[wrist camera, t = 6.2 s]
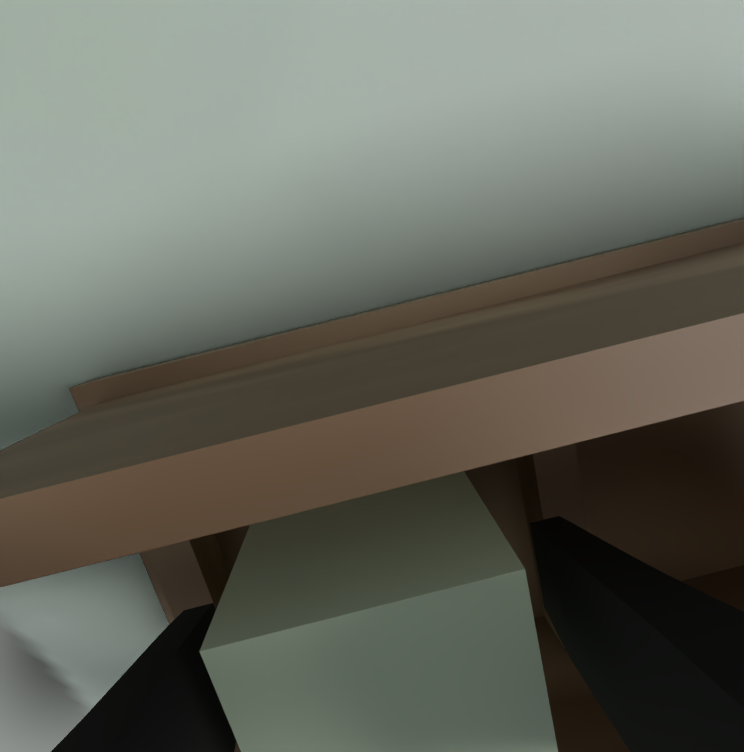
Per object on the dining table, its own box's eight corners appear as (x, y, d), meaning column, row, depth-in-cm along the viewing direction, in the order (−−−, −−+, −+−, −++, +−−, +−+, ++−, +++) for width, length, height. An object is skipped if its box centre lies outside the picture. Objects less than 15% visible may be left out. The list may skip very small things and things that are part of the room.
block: (473, 583, 11) (568, 806, 7) (316, 624, 11) (292, 877, 7) (441, 435, 10) (524, 569, 6) (268, 479, 10) (199, 651, 6)
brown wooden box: (984, 521, 13) (1554, 734, 7) (227, 713, 13) (119, 1105, 7) (1028, 146, 11) (1981, -43, 4) (89, 380, 10) (-279, 521, 4)
